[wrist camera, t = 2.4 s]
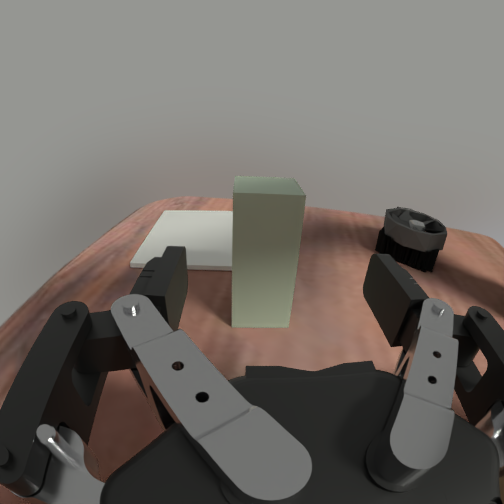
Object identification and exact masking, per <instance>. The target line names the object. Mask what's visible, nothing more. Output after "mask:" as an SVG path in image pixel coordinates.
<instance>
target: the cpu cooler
mask: <svg viewBox="0 0 504 504" xmlns="http://www.w3.org/2000/svg"><path fill="white" fill-rule="evenodd" d="M427 232H428V233H427ZM446 237H447V231H446V227H445V226H444V225H443V224H442V223H441V222H440V221H439V220H437V219H434V218H432V217H430V216H428V215H426V214H424V213H420V212H417V211H414V210H411V209H408V208H401V207H397V208H394V209H387V210H386V215H385V221H384V227H383V228H382V229H381V230H380V231H379V236H378V240H377V244H376V249H375V250H376V251H378V252H379V254H389V255H390V256H391V257H392V258H394V260H395V259H396V261H398V262H401V263H403V264H405V263H406V262H409V263H406V264H408V265H410V266H412V265H413V264H414V265H413V267H417V268H422V269H426V270H428V271H430V272H432V270H433V267H434V264H435V261H436V258H437V255H438V252H439V250H442V249H443V246H444V243H445V240H446ZM402 261H403V262H402ZM416 262H417V263H416ZM410 263H411V264H410ZM415 265H416V266H415ZM417 265H420V266H423V267H420V266H417ZM415 269H416V268H415ZM418 270H419V269H418ZM421 271H423V272H426V271H424V270H421Z"/></svg>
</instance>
